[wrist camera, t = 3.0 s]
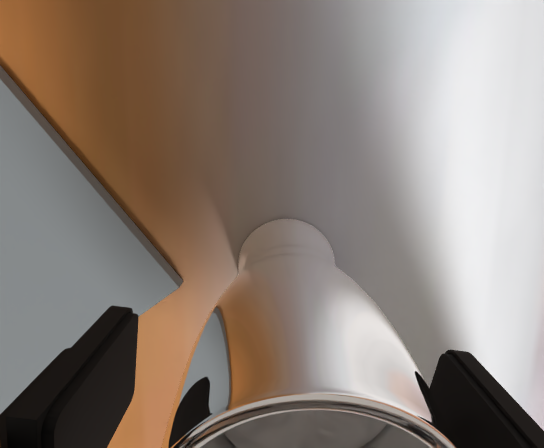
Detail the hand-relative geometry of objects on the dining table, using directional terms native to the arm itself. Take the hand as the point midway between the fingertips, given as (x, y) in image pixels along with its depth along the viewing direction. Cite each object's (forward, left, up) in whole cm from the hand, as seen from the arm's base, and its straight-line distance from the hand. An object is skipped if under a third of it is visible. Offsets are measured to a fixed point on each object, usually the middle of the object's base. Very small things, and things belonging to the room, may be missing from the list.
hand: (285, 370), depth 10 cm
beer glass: (-1, 0, -11) cm, 11 cm away
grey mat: (+10, +14, -11) cm, 21 cm away
